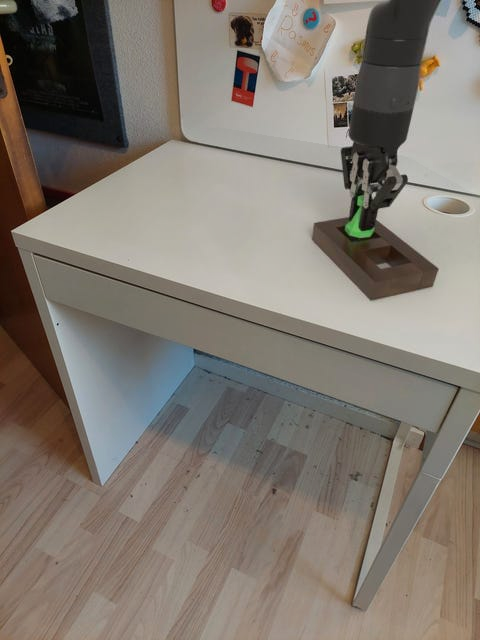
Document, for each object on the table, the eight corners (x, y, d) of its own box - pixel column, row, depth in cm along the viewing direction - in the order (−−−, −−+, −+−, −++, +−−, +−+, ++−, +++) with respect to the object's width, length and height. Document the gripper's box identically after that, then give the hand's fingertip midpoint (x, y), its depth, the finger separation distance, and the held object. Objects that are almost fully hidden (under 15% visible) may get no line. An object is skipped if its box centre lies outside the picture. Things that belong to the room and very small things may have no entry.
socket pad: (365, 229, 76) (368, 213, 74) (432, 286, 63) (439, 268, 61) (311, 239, 73) (313, 222, 71) (371, 300, 61) (375, 282, 59)
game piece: (357, 222, 71) (364, 185, 68) (379, 232, 69) (387, 195, 65) (338, 229, 69) (344, 192, 66) (360, 241, 67) (367, 202, 63)
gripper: (444, 113, 53) (409, 242, 64) (378, 87, 63) (358, 202, 74) (390, 119, 51) (363, 252, 62) (331, 91, 61) (317, 209, 72)
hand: (360, 224), depth 68 cm, fingers closed on game piece, 2 cm apart
